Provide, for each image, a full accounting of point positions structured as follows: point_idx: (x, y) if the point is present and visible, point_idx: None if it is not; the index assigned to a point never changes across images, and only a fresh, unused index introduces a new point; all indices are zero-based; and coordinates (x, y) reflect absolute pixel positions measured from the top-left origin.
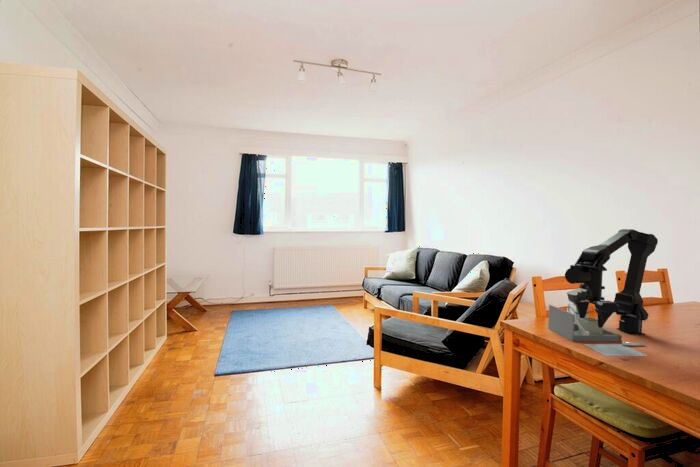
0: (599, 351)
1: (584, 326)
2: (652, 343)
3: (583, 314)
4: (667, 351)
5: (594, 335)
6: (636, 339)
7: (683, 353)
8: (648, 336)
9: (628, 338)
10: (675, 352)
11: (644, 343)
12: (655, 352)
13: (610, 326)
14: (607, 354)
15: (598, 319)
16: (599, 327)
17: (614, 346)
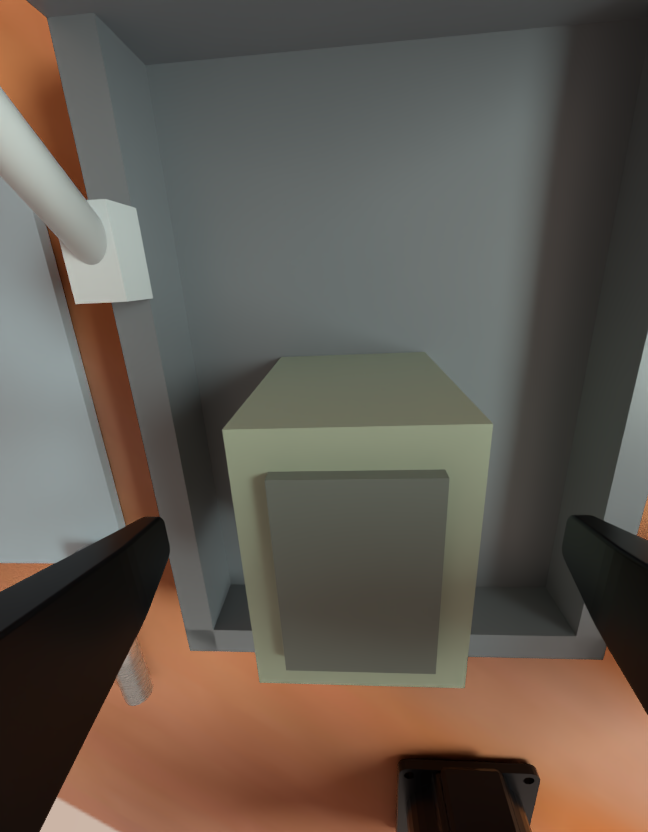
0: None
1: (308, 389)
2: (231, 760)
3: (634, 632)
4: None
5: (130, 381)
6: (306, 733)
7: (76, 778)
8: (375, 828)
9: (324, 704)
10: (81, 756)
11: (130, 702)
12: None
13: (625, 779)
14: None
15: (19, 599)
16: (150, 521)
17: (49, 461)
